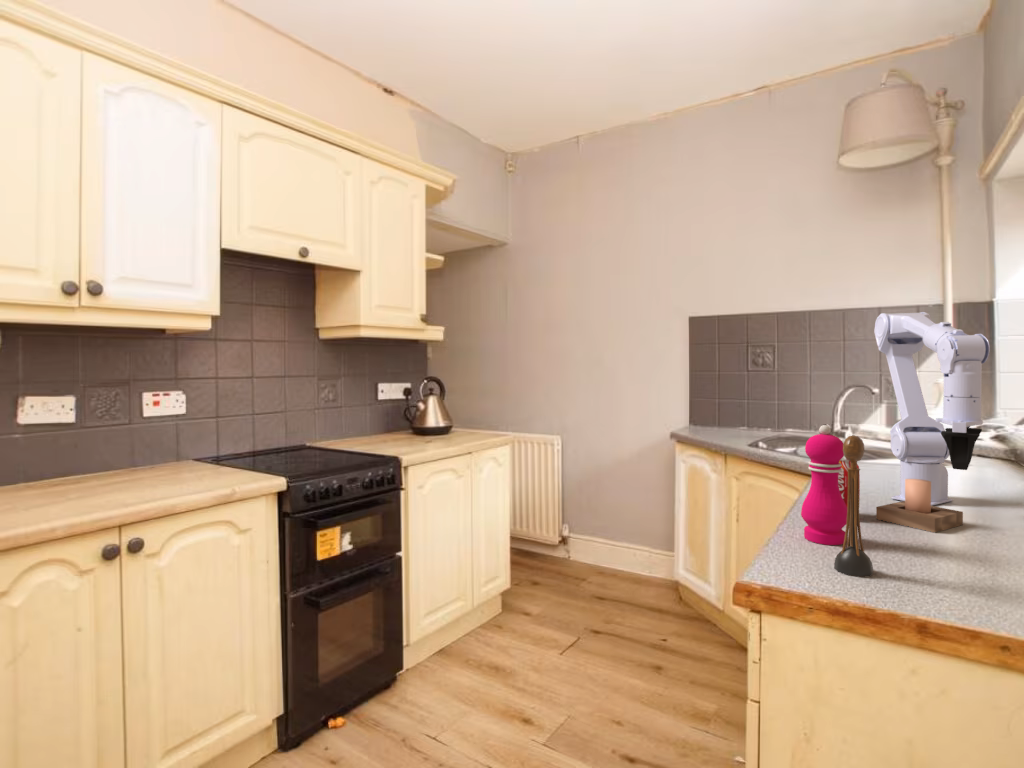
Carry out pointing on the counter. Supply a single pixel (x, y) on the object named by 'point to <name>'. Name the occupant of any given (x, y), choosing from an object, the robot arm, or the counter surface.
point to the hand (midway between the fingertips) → (961, 466)
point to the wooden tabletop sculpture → (853, 517)
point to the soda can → (845, 479)
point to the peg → (918, 495)
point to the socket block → (920, 517)
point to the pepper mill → (824, 490)
